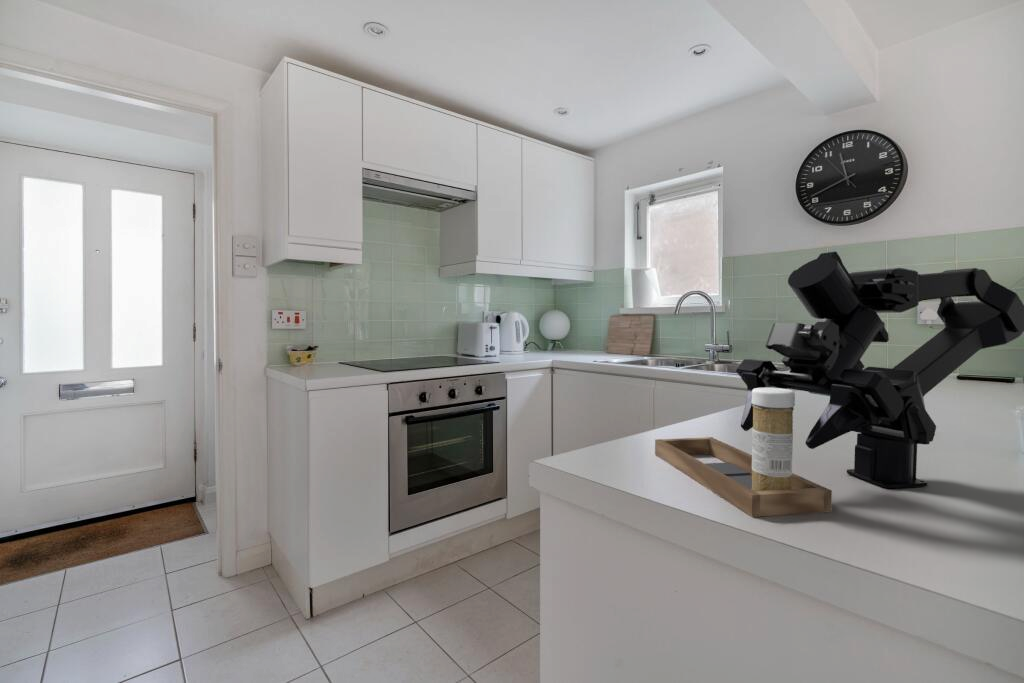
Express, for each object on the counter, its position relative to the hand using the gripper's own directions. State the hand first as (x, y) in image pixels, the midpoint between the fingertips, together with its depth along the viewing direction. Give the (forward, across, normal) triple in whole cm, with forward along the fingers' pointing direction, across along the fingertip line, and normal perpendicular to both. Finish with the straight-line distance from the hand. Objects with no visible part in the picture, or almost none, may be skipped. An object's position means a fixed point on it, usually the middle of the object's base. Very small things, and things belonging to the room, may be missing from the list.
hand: (773, 436), depth 58 cm
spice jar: (+6, 0, +5) cm, 8 cm away
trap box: (+5, -8, +6) cm, 12 cm away
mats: (+5, -8, +6) cm, 12 cm away
